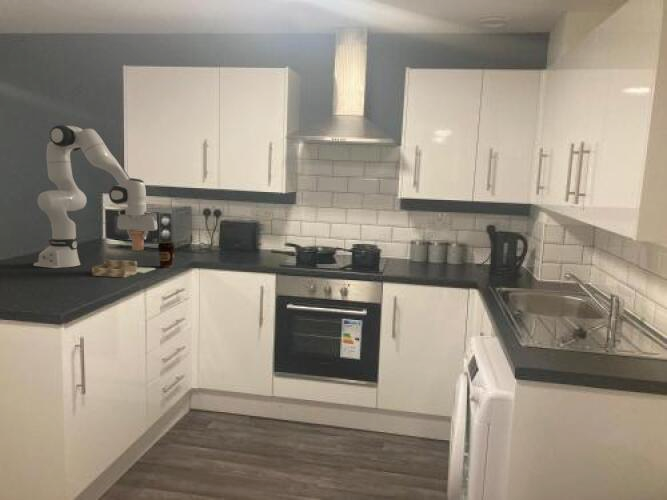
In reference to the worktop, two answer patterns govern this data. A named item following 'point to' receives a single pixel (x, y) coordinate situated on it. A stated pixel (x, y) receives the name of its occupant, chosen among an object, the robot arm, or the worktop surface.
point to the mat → (143, 269)
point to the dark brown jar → (166, 254)
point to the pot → (137, 240)
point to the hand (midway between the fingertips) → (137, 239)
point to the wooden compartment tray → (115, 268)
